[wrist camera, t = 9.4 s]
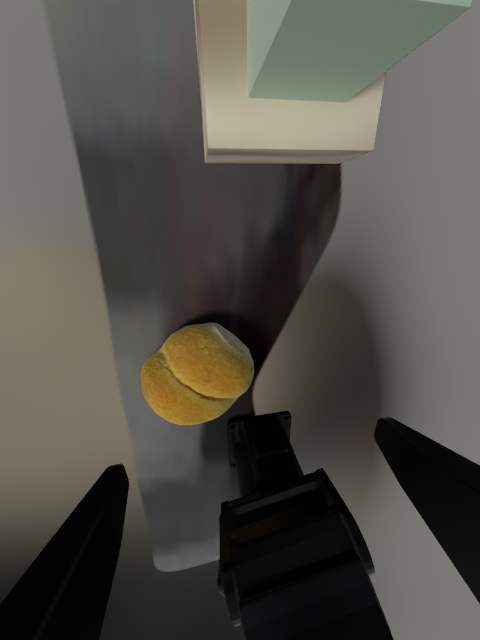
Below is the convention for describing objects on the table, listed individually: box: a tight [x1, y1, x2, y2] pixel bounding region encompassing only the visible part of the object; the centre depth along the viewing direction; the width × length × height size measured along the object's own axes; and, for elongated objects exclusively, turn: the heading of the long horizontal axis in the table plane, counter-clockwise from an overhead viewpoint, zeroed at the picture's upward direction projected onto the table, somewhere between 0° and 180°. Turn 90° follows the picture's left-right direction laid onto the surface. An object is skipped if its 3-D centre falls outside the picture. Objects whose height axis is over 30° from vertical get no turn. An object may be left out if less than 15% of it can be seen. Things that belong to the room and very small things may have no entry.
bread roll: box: [141, 323, 254, 425], centre depth 19 cm, size 8×9×4 cm
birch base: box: [193, 0, 386, 164], centre depth 12 cm, size 9×9×4 cm
